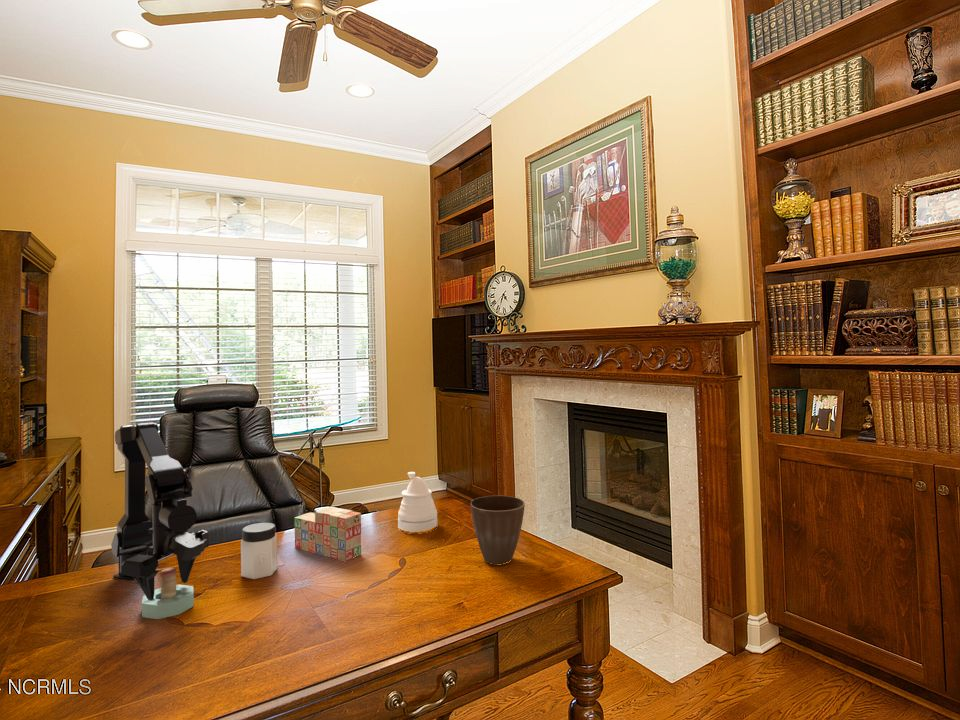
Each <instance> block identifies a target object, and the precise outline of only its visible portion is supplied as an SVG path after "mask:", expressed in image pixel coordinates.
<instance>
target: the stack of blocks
mask: <svg viewBox="0 0 960 720" xmlns="http://www.w3.org/2000/svg"><path fill="white" fill-rule="evenodd" d="M293 527H294V548H295V549H298V550H302V551H305V552H309V553H312V554H316V555H319V554H320V555H321V556H323V555H324V556H325V557H327V556H328V557H327V558H330V557H331V558H330V559H334V560H337V561H341V562H344V561H346V562H348V561H351V560H353V559H354V558H353V557H355V556H357V555H359V556H361V555H362V512H358V511H354V510H352V509H346V508H340V507H339V508H338V507H335V506H328V507H326V508H322V509H319V510H316V511H315V512H307V513H303V514H300V515H299V516H295V517H293ZM360 554H361V555H360ZM357 557H358V556H357ZM352 558H353V559H352ZM355 558H356V557H355Z"/></svg>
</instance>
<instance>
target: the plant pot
mask: <svg viewBox="0 0 960 720" xmlns="http://www.w3.org/2000/svg"><path fill="white" fill-rule="evenodd" d="M525 506H526V502H525V500H523V499H521V498H519V497H514V496H509V495H486V496H480V497H476V498H474V499H472V500H471V502H470V509H471V516H472V517H471V518H472V522H473V527H474V532H475V536H476V539H477V543H478V546H479V549H480V553H481V555H482V557H483V560H484V562H485V561H486V562H488V563H492V564H503V563H506V562H509V561H510V560H511V561H513V560H512V559H513V557H514V555H515V552H516V550H517V549H516V548H517V546H518V543H519V539H520V535H521V530H522V527H523V526H522V525H523V520H524V514H525ZM486 562H485V563H486ZM488 563H487V564H488Z"/></svg>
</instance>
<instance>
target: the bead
mask: <svg viewBox="0 0 960 720" xmlns="http://www.w3.org/2000/svg"><path fill="white" fill-rule="evenodd" d="M194 592H195V591H194V585H186V584H176V597H174V598H170V599H165V600H161V587H160V588H157V589H154V599H153V600H148V599H147V597H146V595H145V594H144V595H143V596H142V600H141V617H142V618H147V619H152V620H160V619H164V618H169V617H173V616H178V615H181V614H182V613H184V612H186V611H188V610H189V609H191V608H193V607H194V606H195V604H194V603H195V602H194V601H195V600H194V599H195V595H194V594H195V593H194Z"/></svg>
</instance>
